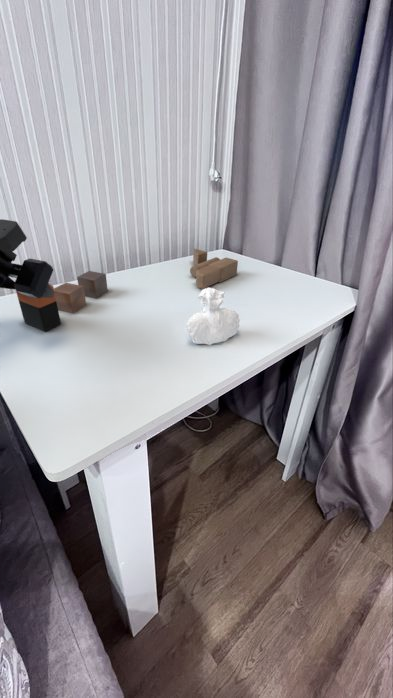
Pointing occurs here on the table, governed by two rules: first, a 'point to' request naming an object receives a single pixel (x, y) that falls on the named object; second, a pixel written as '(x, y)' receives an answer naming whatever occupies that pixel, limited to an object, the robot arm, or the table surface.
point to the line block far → (93, 284)
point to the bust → (212, 319)
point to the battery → (39, 311)
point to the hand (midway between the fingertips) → (34, 291)
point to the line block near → (70, 297)
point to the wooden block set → (211, 269)
